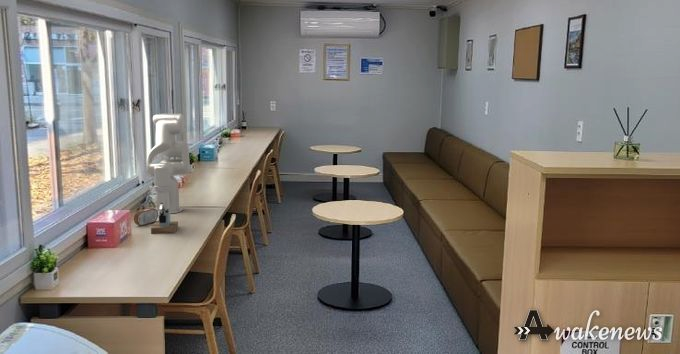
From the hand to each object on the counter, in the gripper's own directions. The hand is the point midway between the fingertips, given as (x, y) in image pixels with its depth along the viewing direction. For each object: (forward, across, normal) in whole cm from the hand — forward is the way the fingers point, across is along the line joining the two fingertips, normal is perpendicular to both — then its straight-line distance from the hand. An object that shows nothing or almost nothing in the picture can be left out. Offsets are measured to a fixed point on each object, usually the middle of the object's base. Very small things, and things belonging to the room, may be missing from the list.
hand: (164, 220), depth 303 cm
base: (+5, 0, 0) cm, 5 cm away
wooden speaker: (+6, -14, -12) cm, 19 cm away
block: (+2, 0, 0) cm, 2 cm away
